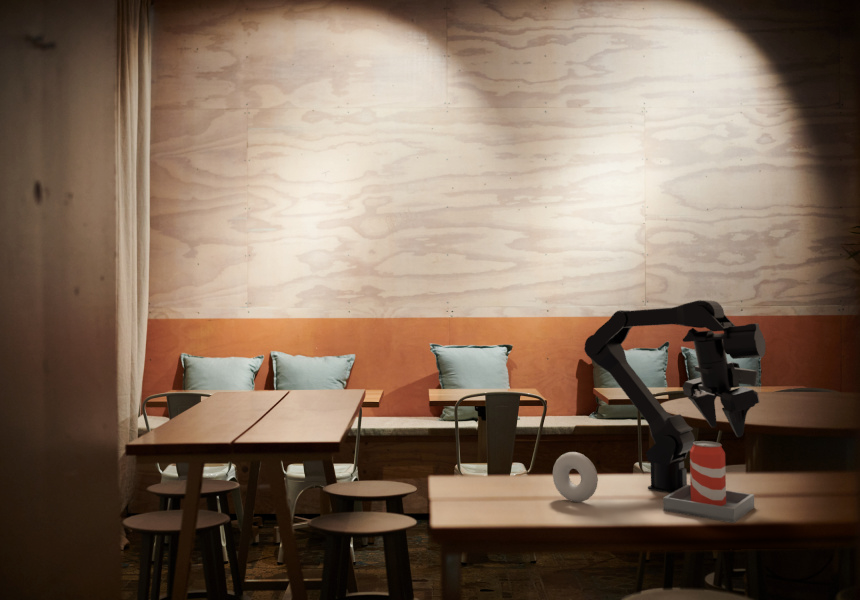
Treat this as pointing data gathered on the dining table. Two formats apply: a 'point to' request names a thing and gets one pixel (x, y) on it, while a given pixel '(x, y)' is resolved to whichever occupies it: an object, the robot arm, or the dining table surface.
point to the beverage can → (708, 473)
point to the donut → (586, 472)
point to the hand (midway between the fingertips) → (726, 431)
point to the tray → (709, 505)
